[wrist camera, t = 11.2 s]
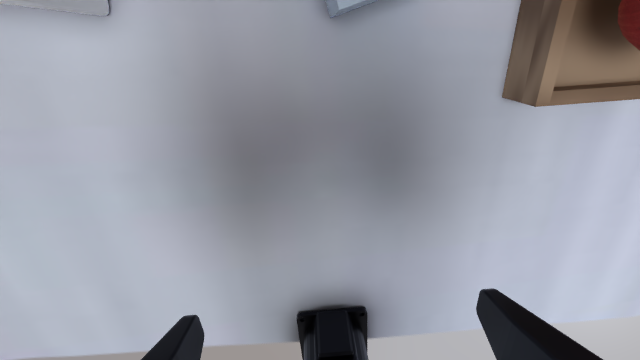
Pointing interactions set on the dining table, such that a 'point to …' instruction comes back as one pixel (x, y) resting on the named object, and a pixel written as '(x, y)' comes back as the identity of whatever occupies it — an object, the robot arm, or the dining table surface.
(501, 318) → the robot arm
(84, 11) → the medicine bottle
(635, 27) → the onion
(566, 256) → the dining table surface
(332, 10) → the slate cube
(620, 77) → the wooden square tray
